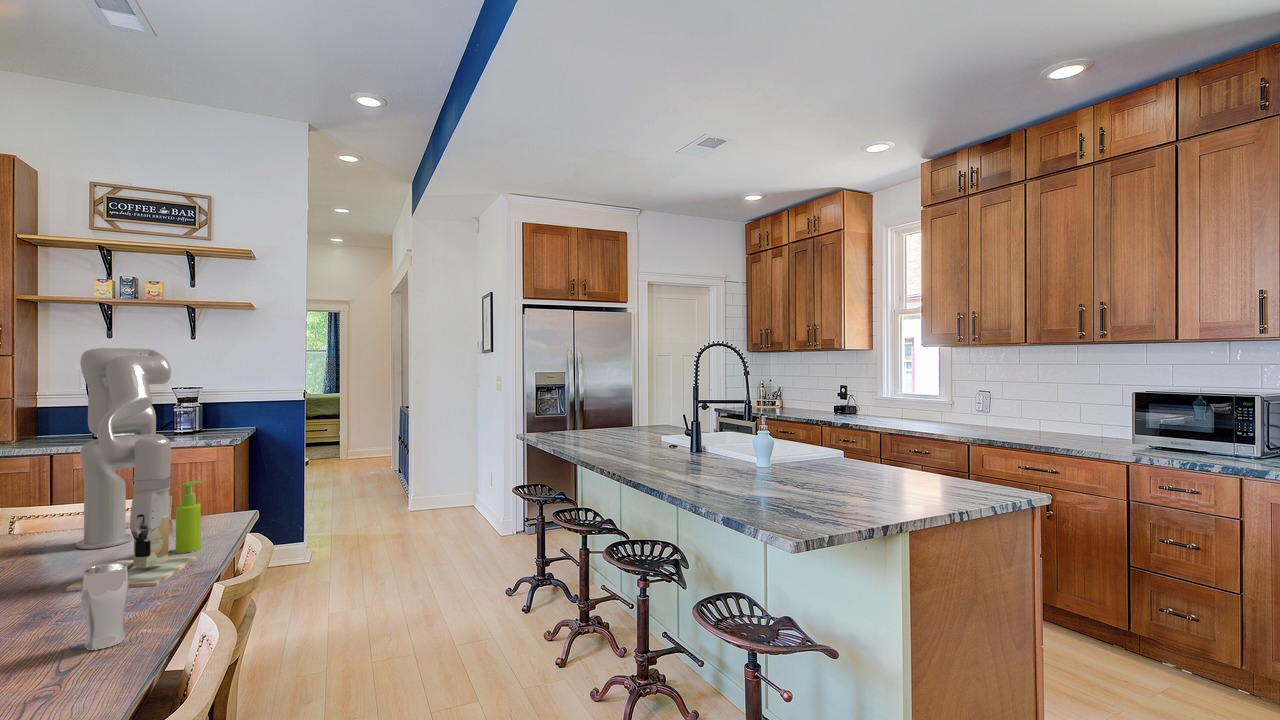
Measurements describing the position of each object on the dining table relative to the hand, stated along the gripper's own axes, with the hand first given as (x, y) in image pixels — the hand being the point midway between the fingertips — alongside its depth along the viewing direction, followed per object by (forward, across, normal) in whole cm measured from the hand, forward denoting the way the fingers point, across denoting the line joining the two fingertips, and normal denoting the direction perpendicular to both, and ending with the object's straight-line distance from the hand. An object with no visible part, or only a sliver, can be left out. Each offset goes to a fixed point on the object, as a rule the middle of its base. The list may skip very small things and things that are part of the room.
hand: (151, 551), depth 160 cm
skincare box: (+4, 0, 0) cm, 4 cm away
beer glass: (+5, +44, +14) cm, 47 cm away
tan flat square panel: (+6, +1, -3) cm, 6 cm away
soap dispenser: (+6, -19, +1) cm, 20 cm away
